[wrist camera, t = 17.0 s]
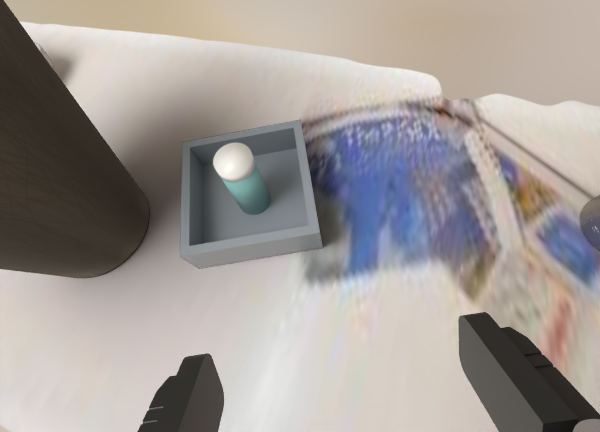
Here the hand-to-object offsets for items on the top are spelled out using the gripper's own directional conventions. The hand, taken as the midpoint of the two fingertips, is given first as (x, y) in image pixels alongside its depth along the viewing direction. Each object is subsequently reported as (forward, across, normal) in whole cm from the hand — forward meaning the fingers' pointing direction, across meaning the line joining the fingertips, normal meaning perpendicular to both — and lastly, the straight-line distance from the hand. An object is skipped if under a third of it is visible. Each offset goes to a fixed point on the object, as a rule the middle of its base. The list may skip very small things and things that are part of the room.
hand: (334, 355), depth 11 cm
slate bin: (+40, +9, +6) cm, 41 cm away
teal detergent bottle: (+39, +9, +6) cm, 40 cm away
